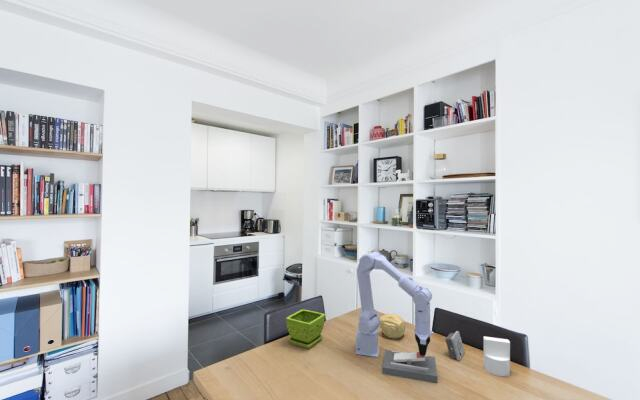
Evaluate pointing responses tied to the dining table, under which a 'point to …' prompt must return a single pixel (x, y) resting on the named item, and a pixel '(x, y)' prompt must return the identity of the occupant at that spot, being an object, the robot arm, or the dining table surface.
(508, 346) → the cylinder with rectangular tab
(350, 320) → the dining table surface
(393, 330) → the sculpture
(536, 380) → the dining table surface
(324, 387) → the dining table surface
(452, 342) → the grey stone block
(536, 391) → the dining table surface
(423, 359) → the rocker paddle
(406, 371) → the switch panel
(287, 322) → the flower pot
